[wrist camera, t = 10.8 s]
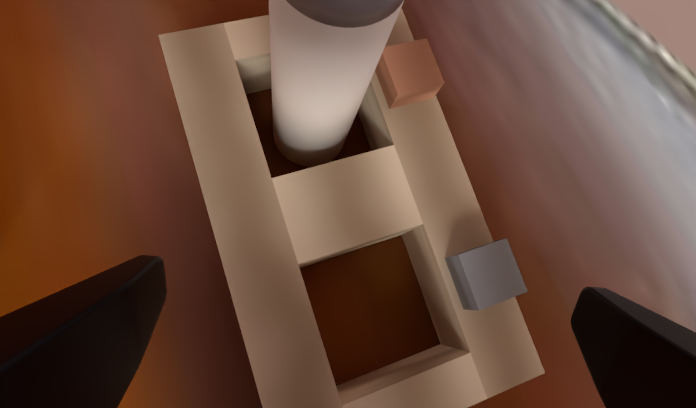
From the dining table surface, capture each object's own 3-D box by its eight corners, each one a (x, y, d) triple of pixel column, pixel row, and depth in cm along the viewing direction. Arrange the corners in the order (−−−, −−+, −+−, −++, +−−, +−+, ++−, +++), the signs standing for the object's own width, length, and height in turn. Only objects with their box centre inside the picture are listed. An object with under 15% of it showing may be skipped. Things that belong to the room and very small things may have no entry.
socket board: (284, 455, 19) (285, 507, 14) (176, 74, 22) (148, 13, 18) (504, 361, 22) (567, 379, 17) (379, 32, 25) (403, -31, 20)
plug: (285, 175, 22) (293, 15, 10) (264, 108, 23) (246, -123, 10) (354, 156, 23) (444, -13, 11) (332, 92, 24) (392, -139, 11)
